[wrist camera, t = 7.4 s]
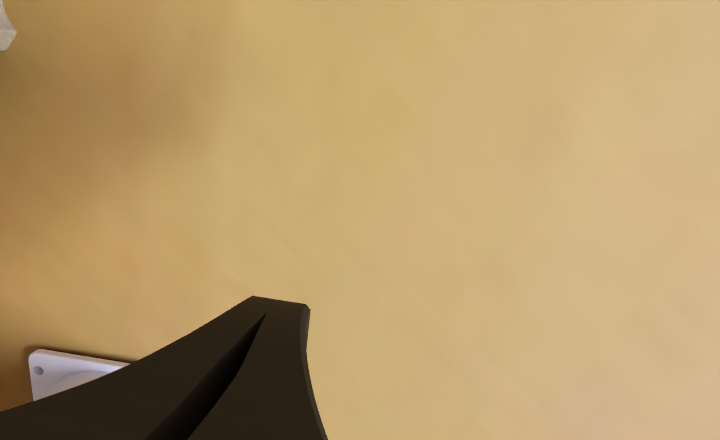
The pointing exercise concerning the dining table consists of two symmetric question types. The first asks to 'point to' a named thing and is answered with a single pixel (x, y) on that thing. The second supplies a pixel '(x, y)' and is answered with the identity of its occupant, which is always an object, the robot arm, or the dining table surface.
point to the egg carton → (5, 30)
